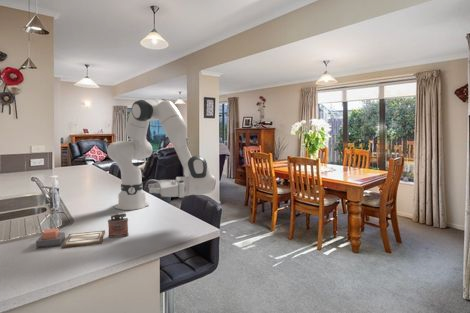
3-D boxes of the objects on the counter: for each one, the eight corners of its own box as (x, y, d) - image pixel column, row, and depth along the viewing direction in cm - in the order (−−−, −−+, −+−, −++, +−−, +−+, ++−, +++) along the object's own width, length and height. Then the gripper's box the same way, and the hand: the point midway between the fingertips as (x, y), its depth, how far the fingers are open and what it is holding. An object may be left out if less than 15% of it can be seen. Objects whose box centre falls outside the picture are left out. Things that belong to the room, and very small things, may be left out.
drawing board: (69, 236, 121) (69, 233, 121) (104, 232, 125) (104, 229, 125) (61, 248, 109) (61, 245, 108) (101, 243, 113) (101, 241, 113)
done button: (46, 236, 114) (45, 229, 114) (58, 235, 116) (58, 228, 115) (43, 240, 110) (42, 233, 110) (55, 239, 112) (55, 231, 111)
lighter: (107, 238, 119) (106, 215, 118) (109, 235, 122) (108, 213, 121) (128, 236, 121) (127, 214, 120) (128, 234, 124) (128, 211, 123)
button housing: (42, 241, 116) (42, 234, 115) (65, 238, 118) (64, 231, 118) (36, 249, 108) (35, 241, 108) (60, 246, 111) (59, 238, 110)
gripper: (177, 176, 137) (147, 177, 133) (183, 183, 118) (149, 185, 114) (177, 188, 138) (148, 190, 134) (183, 198, 119) (149, 201, 114)
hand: (148, 188), depth 123 cm, fingers open, 8 cm apart
